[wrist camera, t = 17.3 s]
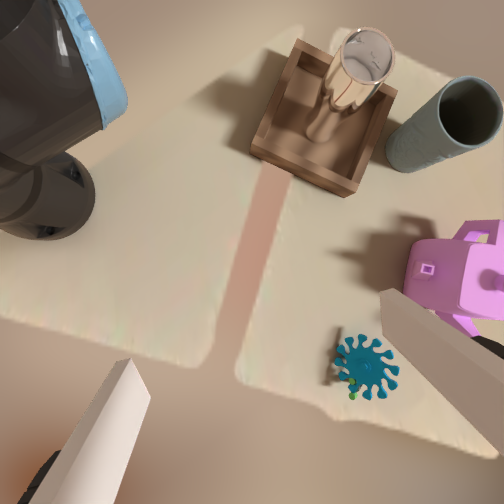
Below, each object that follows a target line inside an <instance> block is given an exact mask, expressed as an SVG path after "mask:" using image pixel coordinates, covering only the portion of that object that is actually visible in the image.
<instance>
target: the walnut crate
mask: <svg viewBox="0 0 504 504" xmlns="http://www.w3.org/2000/svg"><path fill="white" fill-rule="evenodd" d="M332 59H333V56H331V55H329V54H327V53H325V52H323V51H321V50H319V49H317V48H315V47H313V46H311V45H310V44H308V43H306V42H304V41H302V40H300V39H298V38H297V40H296V42H295V45H294V47H293V49H292V51H291V54H290V56H289V58H288V61H287V63H286V65H285V67H284V70H283V72H282V74H281V77H280V79H279V81H278V84H277V86H276V88H275V90H274V93H273V95H272V97H271V100H270V102H269V104H268V106H267V109H266V111H265V113H264V116H263V118H262V120H261V123H260V125H259V127H258V129H257V132H256V134H255V136H254V139H253V141H252V143H251V149H250V154H251V155H253V156H255V157H258V158H260V159H262V160H264V161H266V162H268V163H271V164H273V165H275V166H277V167H279V168H281V169H283V170H285V171H288V172H290V173H292V174H294V175H296V176H298V177H300V178H303V179H305V180H307V181H309V182H311V183H313V184H315V185H317V186H320V187H322V188H324V189H326V190H328V191H330V192H332V193H335V194H337V195H339V196H341V197H343V198H345V197H347V196H350V195H352V194H354V193H356V191H357V189H358V186H359V184H360V181H361V179H362V176H363V174H364V172H365V169H366V167H367V164H368V162H369V160H370V157H371V155H372V152H373V150H374V147H375V145H376V143H377V140H378V138H379V135H380V133H381V131H382V128H383V126H384V123H385V121H386V119H387V116H388V114H389V111H390V109H391V106H392V104H393V102H394V99H395V97H396V94H397V92H398V90H396V89H394V88H392V87H390V86H388V85H386V84H384V83H382V85H381V86H380V87H379V89H378V90H377V91H376V93H375V94H374V95H373V96H372V97H371V99H370V100H369V101H368V102H367V103H366V104H365V105H364V106H363V107H362V108H361V109H360V110H359V111H357V112H356V113H355V114H354V115H352V116H351V117H350V118H348V119H347V120H345V121H344V122H343V123H341V124H340V125H339V126H338V128H337V130H336V132H335V134H334V136H333V137H332V138H331V139H330V140H328V141H327V142H324V143H316V142H313V141H311V140H310V139H308V138H307V136H306V135H305V133H304V131H303V119H304V117H305V115H306V114H307V113H308V112H309V110H310V109H311V108H312V107H313V106H314V103H315V100H316V96H317V93H318V90H319V86H320V83H321V81H322V78H323V76H324V74H325V71H326V69H327V67H328V66H329V64H330V62H331V60H332Z"/></svg>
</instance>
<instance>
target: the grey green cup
mask: <svg viewBox="0 0 504 504" xmlns="http://www.w3.org/2000/svg"><path fill="white" fill-rule="evenodd" d="M502 122H503V106H502V102H501V99H500V97H499V95H498V93H497V92H496V90H495V89H494V88H493V87H492V86H491V85H490V84H489V83H488V82H486V81H485V80H483V79H481V78H478V77H475V76H462V77H458V78H456V79H454V80H452V81H450V82H449V83H447V84H446V85H445V86H444V87H443V88H442V89H441V90H440V91H439V92H438V93H437V94H435V95H434V96H433V97H432V98H431V99H430V100H429V101H428V102H427V103H426V104H425V105H424V106H422V107H421V108H420V109H419V110H418V111H417V112H415V113H414V114H413V115H412V117H411V118H409V119H408V120H407V121H406V122H405V123H403V124H402V125H401V126H400V127H399V128H398V129H396V130H395V131H394V132H393V133H392V134H391V135H390V137H389V138H388V140H387V143H386V146H385V148H386V156H387V159H388V161H389V163H390V164H391V166H392V167H393V168H394V169H396V170H398V171H400V172H404V173H411V172H415V171H418V170H421V169H424V168H426V167H429V166H430V165H433V164H435V163H438V162H441V161H443V160H445V159H447V158H453V157H455V156H458V155H460V154H463V153H465V152H468V151H471V150H474V149H476V148H479V147H482V146H484V145H486V144H488V143H489V142H490V141H492V140H493V139H494V137H495V136H496V135H497V134H498V132H499V130H500V128H501V126H502Z"/></svg>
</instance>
